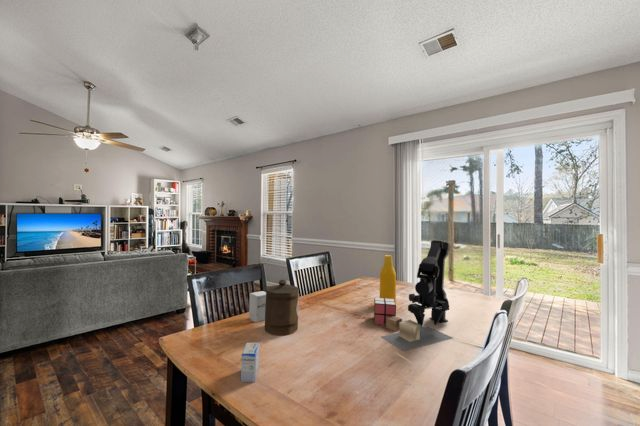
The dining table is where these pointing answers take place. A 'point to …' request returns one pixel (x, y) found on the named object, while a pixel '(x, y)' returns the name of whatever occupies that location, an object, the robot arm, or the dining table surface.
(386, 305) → the puzzle cube
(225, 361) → the dining table surface
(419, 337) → the beech cube
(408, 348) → the rubber mat
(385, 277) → the beer bottle
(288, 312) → the wooden container
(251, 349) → the medicine box
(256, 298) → the supplement box
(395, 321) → the walnut cube
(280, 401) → the dining table surface
